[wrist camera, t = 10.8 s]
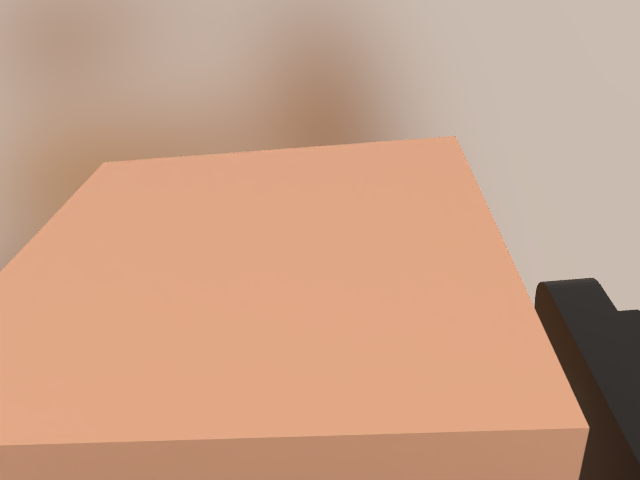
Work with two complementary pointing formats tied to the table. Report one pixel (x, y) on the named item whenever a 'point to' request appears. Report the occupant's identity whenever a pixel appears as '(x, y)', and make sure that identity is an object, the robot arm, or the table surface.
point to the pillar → (280, 327)
